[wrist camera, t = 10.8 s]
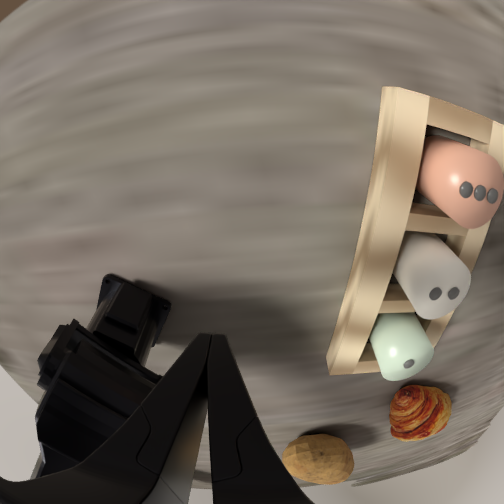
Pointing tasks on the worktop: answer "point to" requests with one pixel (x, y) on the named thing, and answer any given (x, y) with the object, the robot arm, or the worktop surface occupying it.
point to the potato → (319, 459)
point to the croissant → (418, 412)
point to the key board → (402, 220)
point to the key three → (460, 181)
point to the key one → (400, 345)
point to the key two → (430, 274)
